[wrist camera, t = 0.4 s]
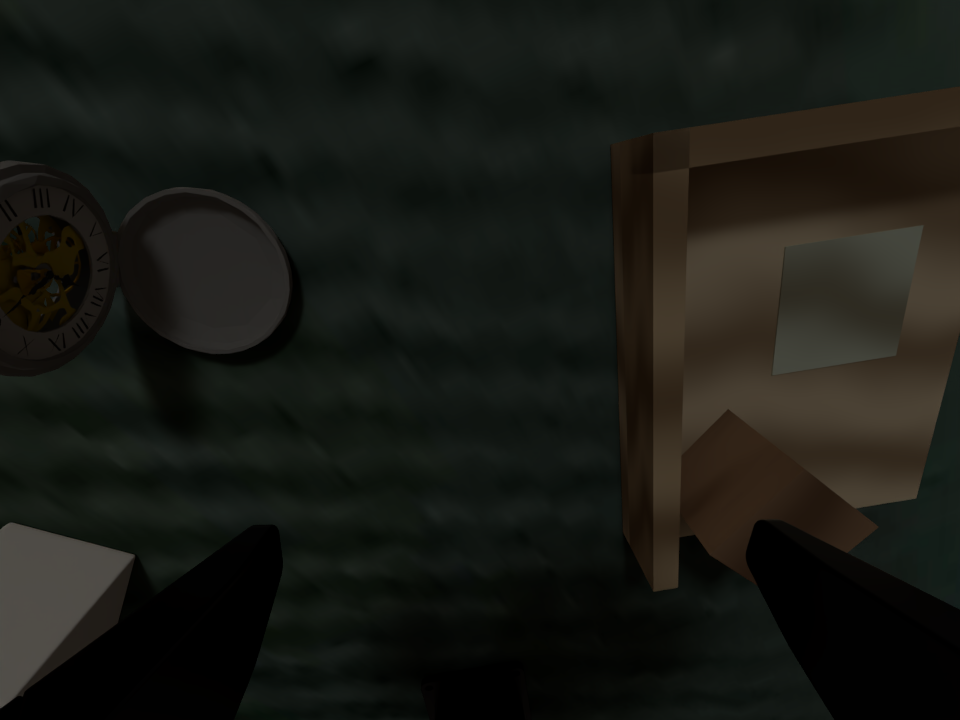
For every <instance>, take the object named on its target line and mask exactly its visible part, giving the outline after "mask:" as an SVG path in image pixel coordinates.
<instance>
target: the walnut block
mask: <svg viewBox="0 0 960 720" xmlns="http://www.w3.org/2000/svg"><path fill="white" fill-rule="evenodd" d="M680 514H681V516H682V517H683V518H684V520H685V521H686V523H687V524H688V525H689V527H690V528H691V530H692V531H693V532H694V534H695V535H696V537H697V538H698V539H699V541H700V542H701V544H702V545H703V546H704V548H705V549H706V550H707V552H708V553H709V555H711V556H712V557H714V558H715V559H717V560H718V561H720V562H721V563H723V564H725V565H726V566H728V567H729V568H731V569H732V570H734V571H735V572H737V573H739V574H740V575H742V576H743V577H745V578H746V579H748V580H749V581H751V582H753V583H754V584H756V585H757V583H756V581H755V579H754V577H753V576H752V574H751V572H750V570H749V568H748V565H747V562H746V549H747V546H748V543H749V540H750V536H751V533H752V530H753V527H754V524H755V523H756V522H757V521H758V520H761V519H779V520H782V521H785V522H787V523H789V524H791V525H793V526H795V527H797V528H799V529H801V530H803V531H805V532H807V533H809V534H811V535H813V536H814V537H816V538H818V539H820V540H822V541H824V542H826V543H828V544H830V545H832V546H834V547H836V548H838V549H840V550H842V551H844V552H846V553H847V552H849V551H850V550H851V549H852V548H854V547H855V546H856V545H857V544H858V543H860V542H861V541H862V540H863V539H865V538H866V537H867V536H868V535H869V534H871V533H872V532H873V531H874V530H876V529H877V528H878V526H877V525H875V524H874V523H873V522H872V521H870V520H869V519H868V518H866V517H865V516H864V515H863V514H861V513H860V512H859V511H858V510H856V509H855V508H854V507H853V506H851V505H850V504H849V503H847V502H846V501H845V500H844V499H842V498H841V497H840V496H839V495H837V494H836V493H835V492H833V491H832V490H831V489H830V488H828V487H827V486H826V485H825V484H823V483H822V482H821V481H819V480H818V479H817V478H816V477H814V476H813V475H812V474H811V473H809V472H808V471H807V470H806V469H804V468H803V467H802V466H800V465H799V464H798V463H797V462H795V461H794V460H793V459H791V458H790V457H789V456H788V455H786V454H785V453H784V452H783V451H781V450H780V449H779V448H777V447H776V446H775V445H774V444H772V443H771V442H770V441H768V440H767V439H766V438H765V437H763V436H762V435H761V434H759V433H758V432H757V431H756V430H754V429H753V428H752V427H751V426H749V425H748V424H747V423H745V422H744V421H743V420H742V419H740V418H739V417H738V416H736V415H735V414H734V413H733V412H731V411H730V410H729V409H728V410H727V411H726V412H725V413H724V414H723V415H722V416H721V417H720V418H719V419H718V420H717V421H716V422H715V423H714V424H713V425H712V426H711V427H710V428H709V429H708V430H707V431H706V432H705V433H704V434H703V435H702V436H701V437H700V438H699V439H698V440H697V441H696V442H695V443H694V444H693V445H692V446H691V447H690V448H689V449H688V450H687V451H686V452H685V453H684V454H683V455H682V456H681V489H680ZM757 586H758V585H757Z"/></svg>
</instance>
